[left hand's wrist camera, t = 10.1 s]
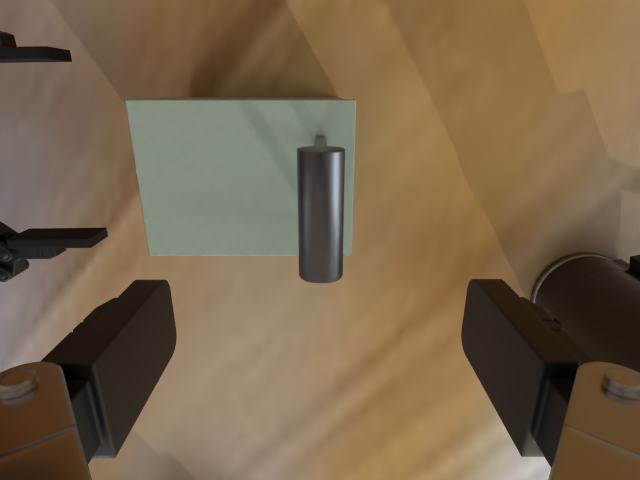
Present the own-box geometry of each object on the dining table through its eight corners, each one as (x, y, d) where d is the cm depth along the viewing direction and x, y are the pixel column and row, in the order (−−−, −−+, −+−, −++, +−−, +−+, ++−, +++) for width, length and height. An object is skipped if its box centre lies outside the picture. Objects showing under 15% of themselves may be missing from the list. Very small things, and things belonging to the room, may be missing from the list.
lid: (354, 99, 25) (373, 103, 16) (350, 249, 29) (364, 319, 20) (132, 99, 25) (32, 103, 16) (155, 249, 29) (82, 319, 20)
